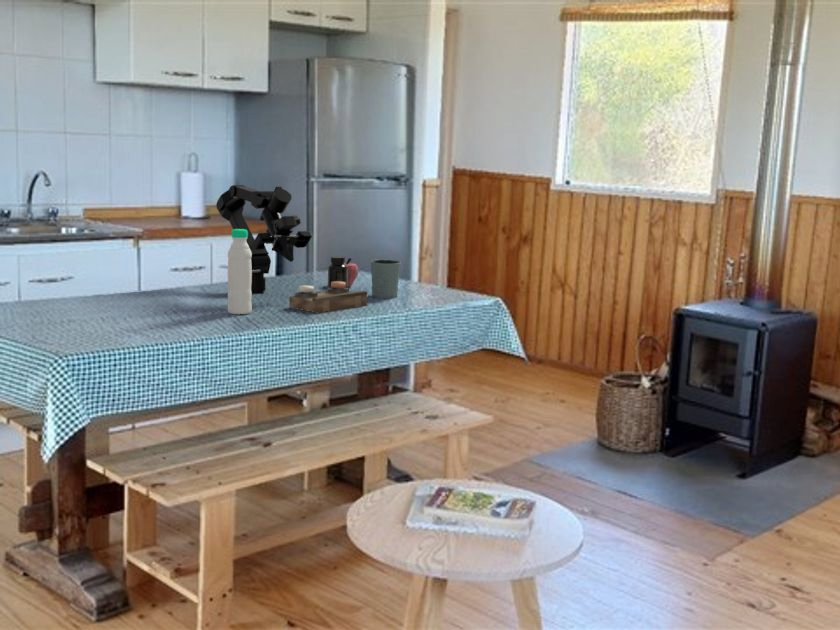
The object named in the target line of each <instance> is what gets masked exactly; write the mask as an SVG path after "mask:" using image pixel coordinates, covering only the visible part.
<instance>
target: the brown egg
mask: <svg viewBox="0 0 840 630" xmlns="http://www.w3.org/2000/svg"><path fill="white" fill-rule="evenodd" d="M331 287H334V288H335V289H341V288H344V287H346V282H341V281H334V282H331Z"/></svg>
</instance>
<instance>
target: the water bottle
mask: <svg viewBox="0 0 840 630" xmlns="http://www.w3.org/2000/svg"><path fill="white" fill-rule="evenodd" d="M247 237H248V231H247V230H245V229H233V228H232V230H231V238H232V243H231V244H230V248H229V249H228V251H227V258H228V259H227V260H228V261H227V287H228V289H227V300H228V301H227V312H228V313H229V314H231V315H236V314H237V315H239V316H241V315H242V314H243V315H248V314H251V313H252V310H253V309H252V307H253V305H252V296H253V295H252V292H251V282H252V264H251V257H252V253H251V250H250V248H249V246H248V244H247V242H246V240H247ZM240 314H241V315H240ZM237 315H236V316H237Z"/></svg>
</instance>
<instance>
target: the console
mask: <svg viewBox="0 0 840 630" xmlns="http://www.w3.org/2000/svg"><path fill="white" fill-rule="evenodd" d="M359 306H360V307H365V306H368V291H366V290H358V291H357V290H356V291H350V288H341V289H335V288H334V287H332V288H328V287H327V288H326V291H321V292H320V291H319V292H314V291H313V292H309V293H308V294H305V293H303V292H300V291H295V292H294V295H293V296H292V295H290V296H289V306H288V307H293V308H298V309H303V310H308V311H313V312H322V313H325V312H324V311H328V312H333V311H332V310H335V311H340V310H339V309H341V310H345V308H347V309H352V307H353V308H358V307H359ZM293 308H292V309H293ZM298 309H297V310H298ZM303 310H302V311H303ZM308 311H307V312H308ZM313 312H312V313H313Z"/></svg>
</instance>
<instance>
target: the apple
mask: <svg viewBox="0 0 840 630" xmlns="http://www.w3.org/2000/svg"><path fill="white" fill-rule="evenodd" d="M351 261H352V258H349V257H348V259H347V261H346V262H345V263H344V264H345V265H346V266H347V267H348V287H351V286H353V285H354V282H355V280H356V279H357V277H358V275H359V272H360V271H359V267H358V265H357V263H354V262H353V263H351Z"/></svg>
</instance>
